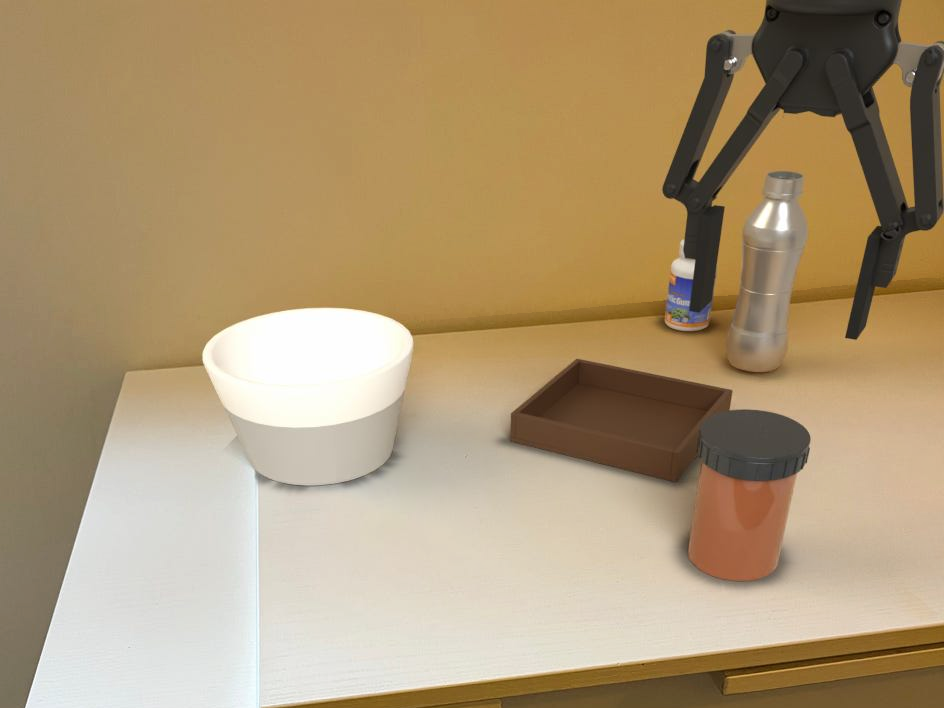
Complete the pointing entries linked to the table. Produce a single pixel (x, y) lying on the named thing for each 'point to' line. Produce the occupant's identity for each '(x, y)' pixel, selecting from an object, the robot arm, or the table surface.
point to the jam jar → (738, 525)
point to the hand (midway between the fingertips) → (775, 318)
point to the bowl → (312, 390)
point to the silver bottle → (768, 275)
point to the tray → (619, 418)
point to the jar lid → (753, 445)
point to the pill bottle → (684, 297)
